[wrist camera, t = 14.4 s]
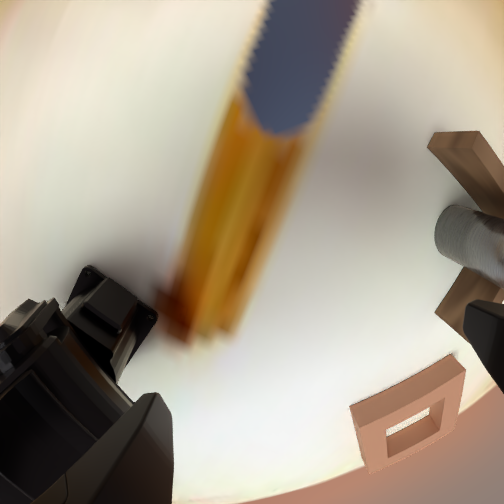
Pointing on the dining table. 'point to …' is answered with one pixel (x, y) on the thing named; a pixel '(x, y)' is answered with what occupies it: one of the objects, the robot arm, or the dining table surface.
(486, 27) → the dining table surface
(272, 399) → the dining table surface
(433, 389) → the sleeve block
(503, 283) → the steel axle
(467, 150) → the v block
